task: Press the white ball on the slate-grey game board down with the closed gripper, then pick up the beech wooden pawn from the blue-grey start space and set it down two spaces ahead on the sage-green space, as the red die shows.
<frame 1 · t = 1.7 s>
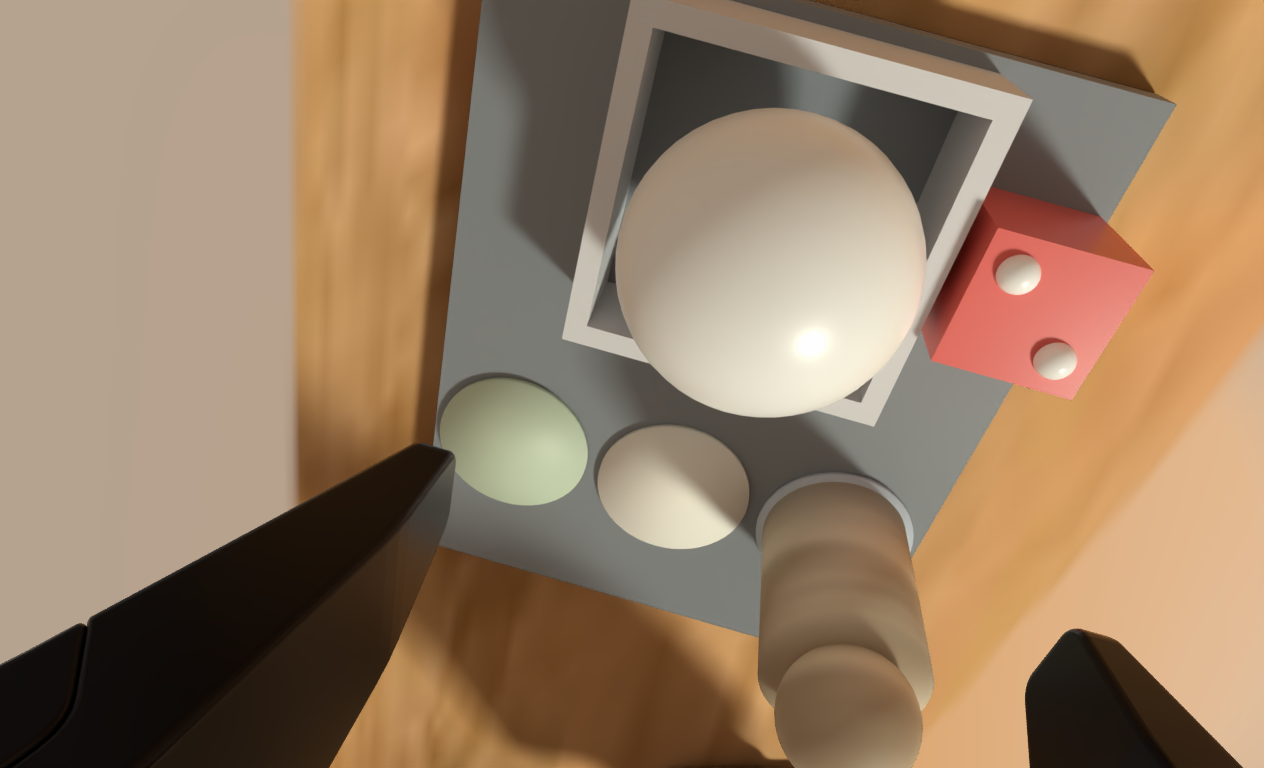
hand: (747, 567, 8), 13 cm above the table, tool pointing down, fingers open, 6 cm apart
white ball: (765, 267, 15), point 5 cm above the table, slide at 0.0 cm
red die: (992, 243, 19), resting on game board
game board: (713, 355, 22), on the table
pawn: (833, 537, 23), point 1 cm above the table, touching game board
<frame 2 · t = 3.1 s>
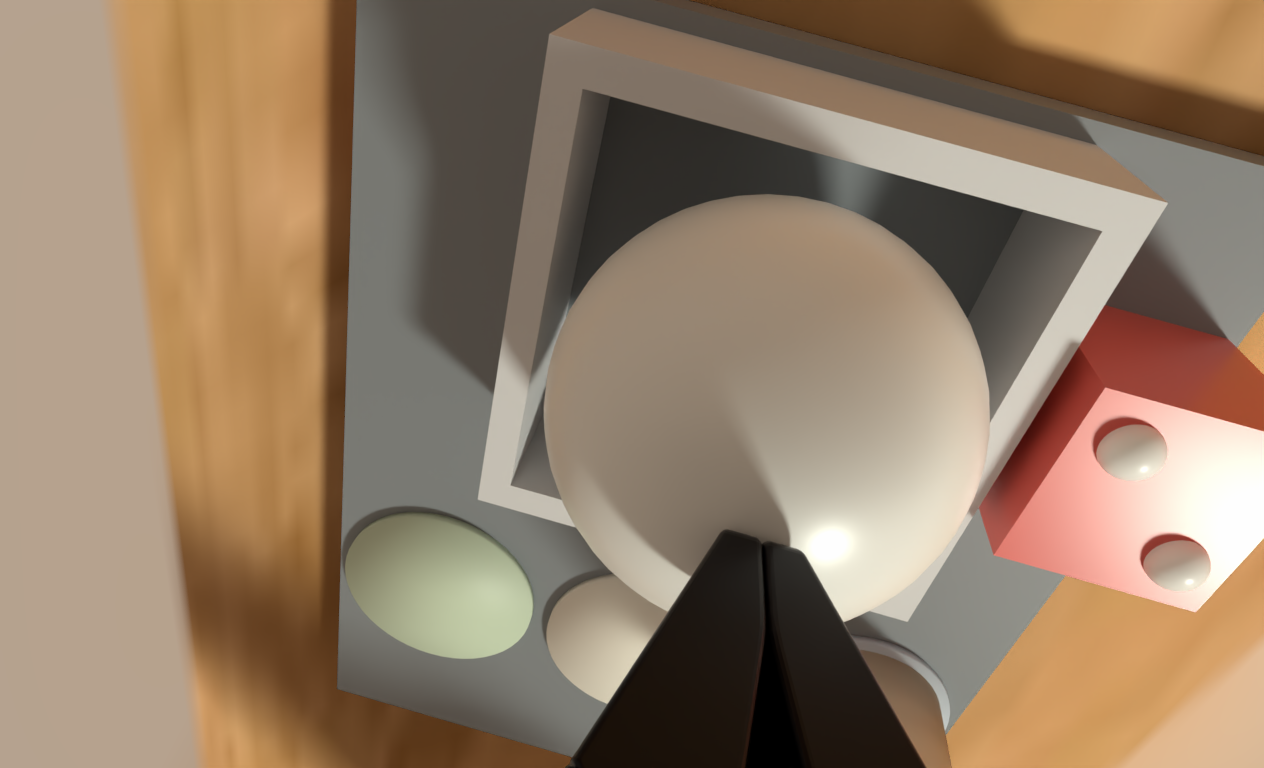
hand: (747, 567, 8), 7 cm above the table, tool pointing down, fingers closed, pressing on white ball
white ball: (757, 412, 11), point 4 cm above the table, slide at -0.8 cm, touching gripper
red die: (1065, 361, 14), resting on game board
game board: (691, 486, 17), on the table
pawn: (846, 709, 18), point 1 cm above the table, touching game board
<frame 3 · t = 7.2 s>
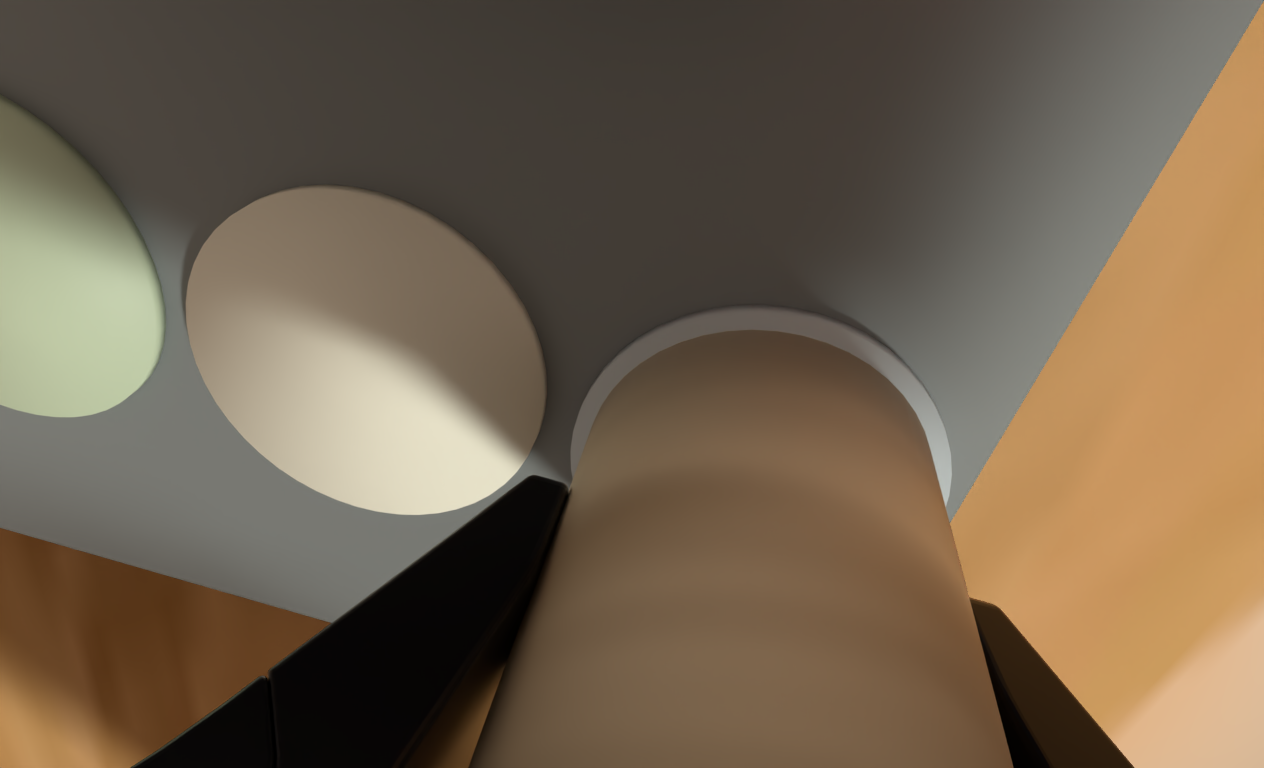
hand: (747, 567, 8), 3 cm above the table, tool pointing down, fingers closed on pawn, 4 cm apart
pawn: (753, 481, 9), point 1 cm above the table, touching game board, gripper
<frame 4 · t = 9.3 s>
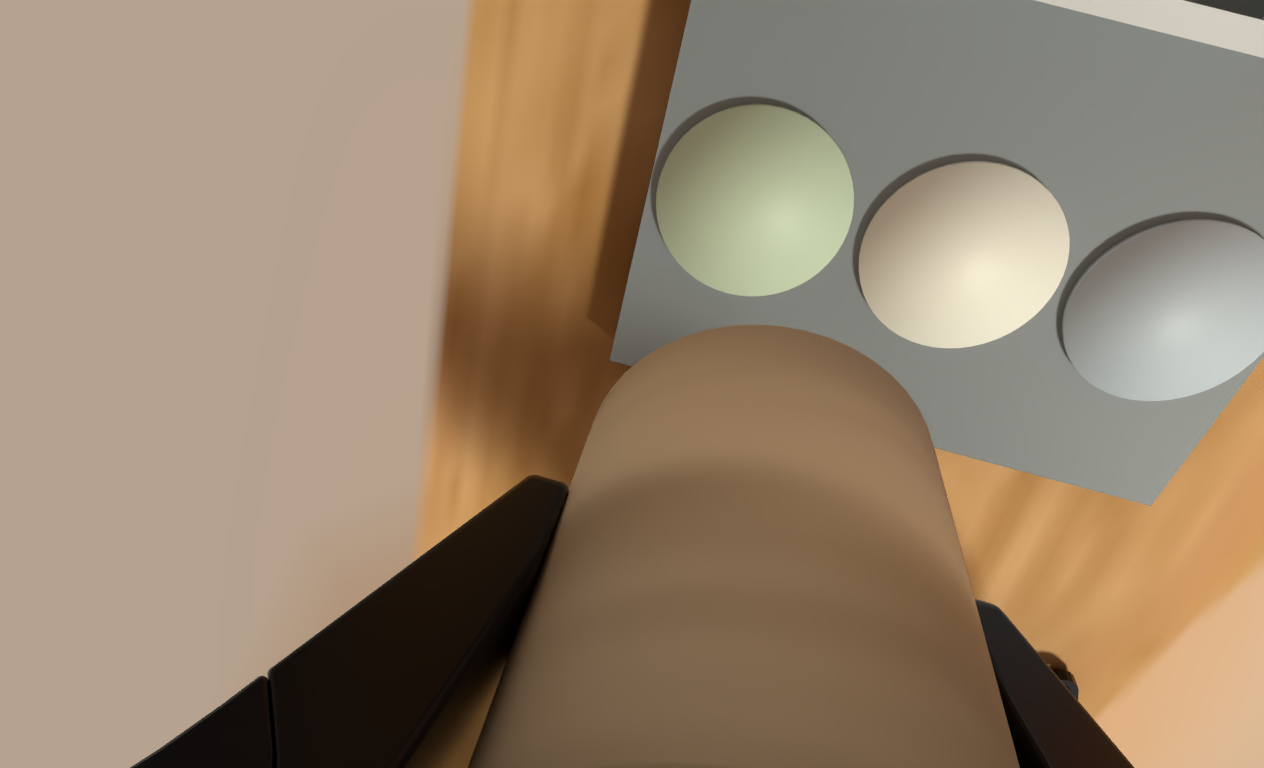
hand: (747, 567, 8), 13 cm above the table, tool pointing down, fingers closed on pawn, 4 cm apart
game board: (1032, 67, 17), on the table
pawn: (754, 477, 9), point 11 cm above the table, touching gripper
when the fingers open (4 cm above the table, at t = 11.2 s): pawn drops 1 cm, resting on game board.
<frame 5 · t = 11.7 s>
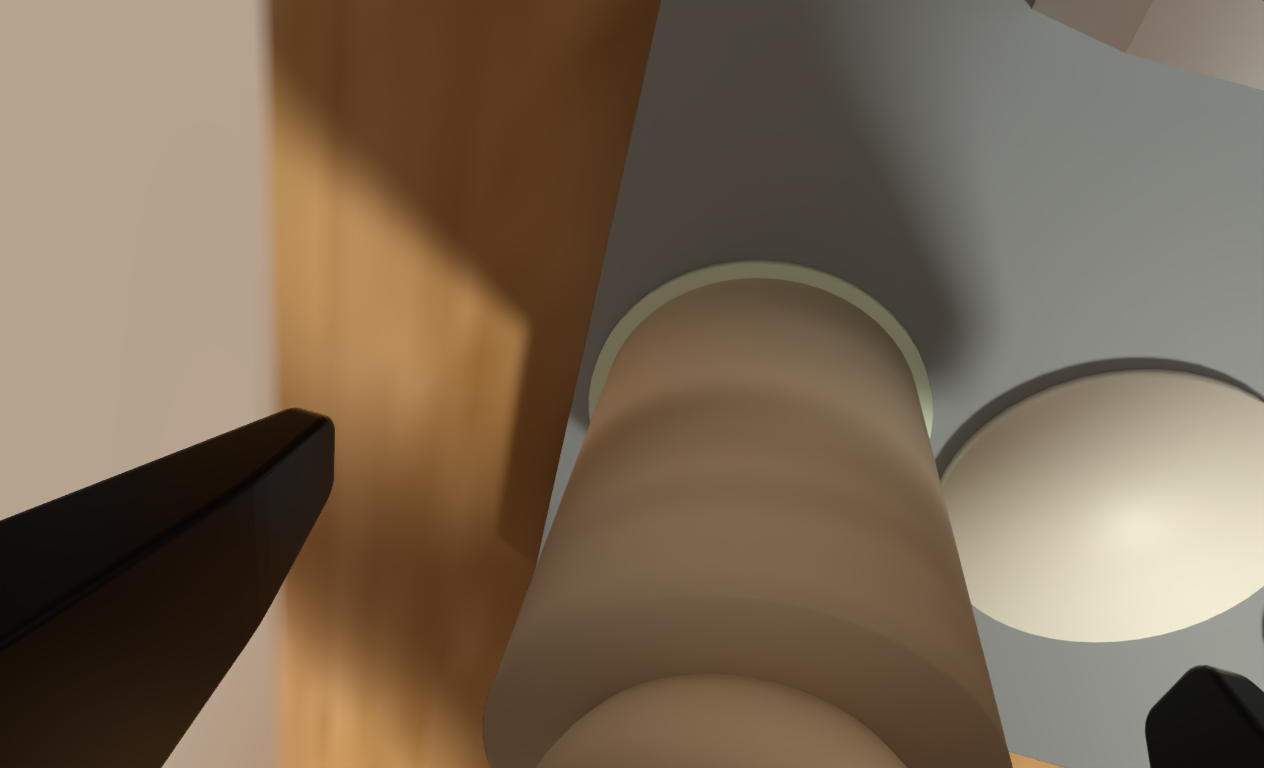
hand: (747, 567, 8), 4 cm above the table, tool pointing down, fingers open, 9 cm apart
pawn: (756, 420, 10), point 1 cm above the table, touching game board
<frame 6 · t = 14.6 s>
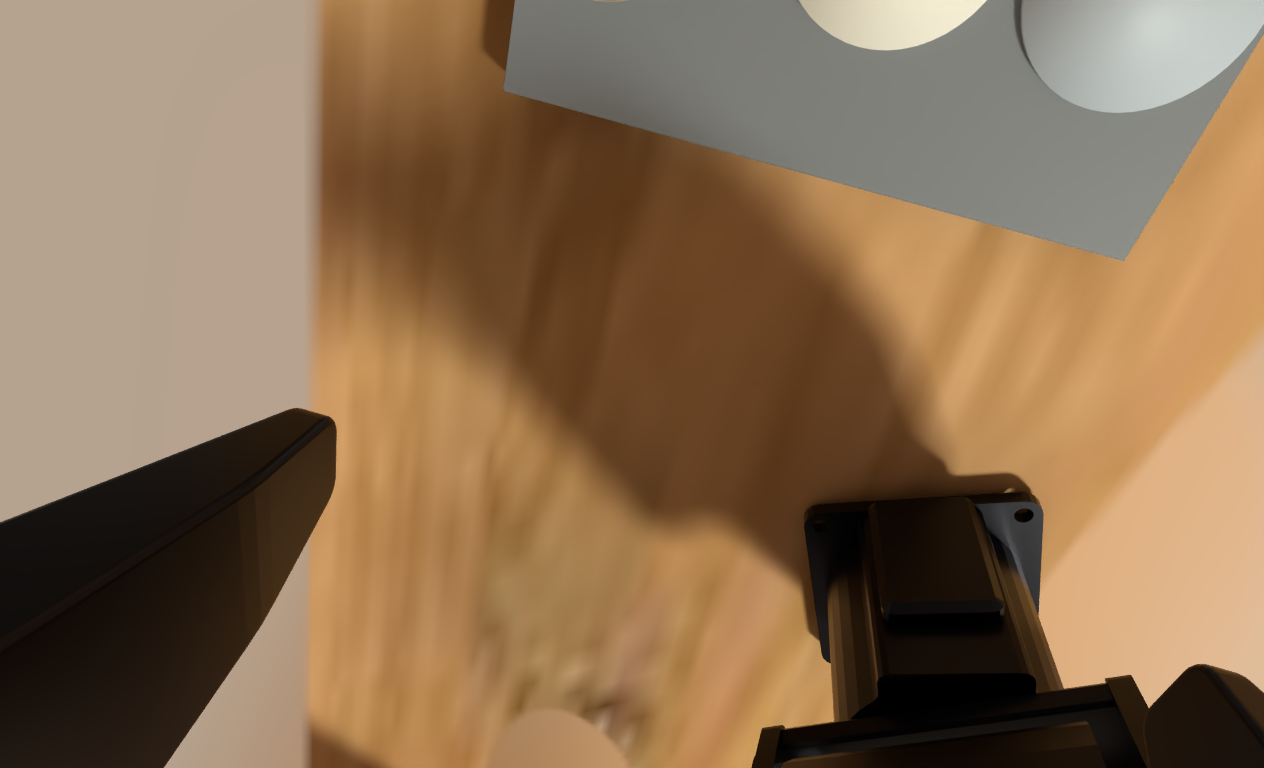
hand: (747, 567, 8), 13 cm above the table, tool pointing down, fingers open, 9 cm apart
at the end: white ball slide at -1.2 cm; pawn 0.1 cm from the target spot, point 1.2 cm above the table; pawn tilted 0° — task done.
